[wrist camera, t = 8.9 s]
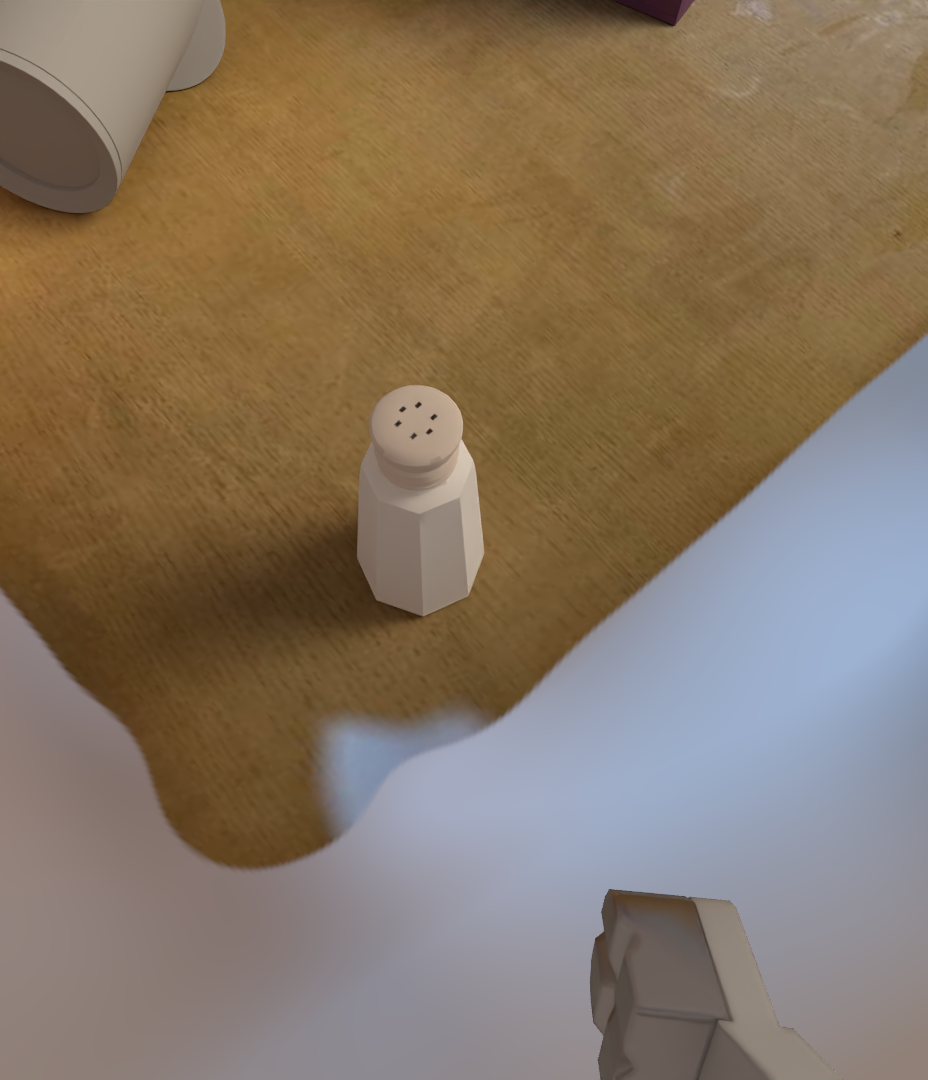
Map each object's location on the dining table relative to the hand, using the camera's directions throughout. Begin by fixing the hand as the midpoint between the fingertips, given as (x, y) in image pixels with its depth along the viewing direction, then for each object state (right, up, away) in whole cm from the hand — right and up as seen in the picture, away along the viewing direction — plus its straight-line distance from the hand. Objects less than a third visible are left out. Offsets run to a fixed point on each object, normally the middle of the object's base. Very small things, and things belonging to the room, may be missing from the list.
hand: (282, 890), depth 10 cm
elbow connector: (-19, +30, +33) cm, 48 cm away
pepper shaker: (0, +4, +23) cm, 23 cm away
